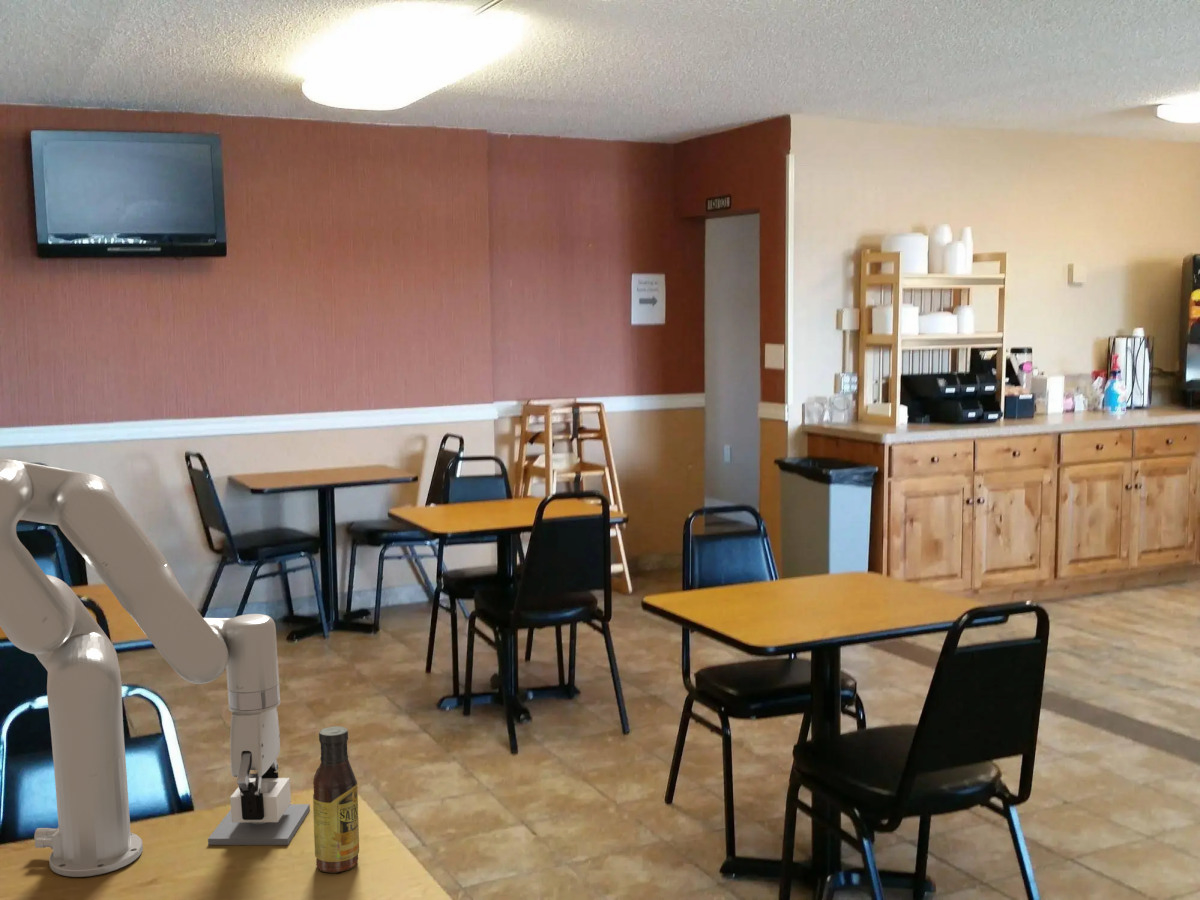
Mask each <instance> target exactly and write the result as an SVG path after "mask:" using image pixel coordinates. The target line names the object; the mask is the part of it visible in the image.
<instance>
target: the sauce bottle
mask: <svg viewBox="0 0 1200 900" xmlns="http://www.w3.org/2000/svg"><path fill="white" fill-rule="evenodd" d="M348 740H349V731H348V728H346V727H344V726H338V725H337V726H329V727H325V728H322V729H321V730H320V731H319V732H318V741H319V744H320V764H319V766H318V768H317V769H316V770H315V774H314V776H313V782H312V784H313V785H312V786H313V794H312V795H313V797H312V806H313V807H312V808H313V811H312V812H313V838H314V839H313V840H314V856H315V858H316V860H315V861H316V867H317V869H318V870H319V871H322V872H325V873H331V874H332V873H333V874H336V873H337V874H338V873H341V872H346V871H348V870H350V869H352V868H355V866H357V864H358V862H359V853H360V829H359V828H360V827H359V822H360V821H359V798H358V797H359V793H358V789H359V788H358V782H357V781H358V780H357V778H356V776H355V775H356V774H355V773H354V771H353V768H352V766H351V763H350V760H349V754H348Z"/></svg>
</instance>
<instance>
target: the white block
mask: <svg viewBox="0 0 1200 900" xmlns="http://www.w3.org/2000/svg"><path fill="white" fill-rule="evenodd" d="M249 780H250V781H249V782H254V781H255V780H256V778H249ZM261 780H264V781H267V789H268V793H263V804H264V818H263V819H262V820H243V818H242V807H241V796H240V789H239V786H238V787H237V788H236V789H235V791H234V792H233V793H232V794H231V795H230V798H229V799H230V801H229V802H230V810H231V817H232V822H278V821H279V820H280V818H281V817H282V815H283V814H284V812H285V811H286V809H287V808H288V806H289V805H290V804H292V795H291V781H290V780H291V778H290V777H278V778H261Z"/></svg>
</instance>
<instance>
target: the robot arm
mask: <svg viewBox="0 0 1200 900" xmlns="http://www.w3.org/2000/svg"><path fill="white" fill-rule="evenodd" d="M20 520H21V521H27V522H32V523H33V522H34V523H40V524H48V525H53V526H54V525H55V526H58V528H59V529H60V531H61V532H62V533H63V535H64V536H65V537H66V538H67V540H68V541H69V542H70V543H71V545H72V546H73V547H74V548H75V550H76V551H77V552H78V553H79V554H80V555H81V556H82V558H84V560H85V561H86V563H88V564H89V566H90V567H91V569H93V571H94V572H96V574H97V576H98V578H100V579H101V581H102V582H103V583H104V584H105V585H106V586H107V588H108V589H109V590H110V591H111V593H112V594H113V596H114V597H115V598H116V600H117V601H118V602H119V604H120V605H121V606H122V608H123V609H124V610H125V611H126V612H127V613H128V615H129V616H130V617H131V618H132V619H133V620H134V622H135V623H136V624H137V626H138V627H139V628H140V630H141V631H142V632H143V634H144V635H145V636H146V638H147V639H148V640H149V642H150V643H151V644H152V645H153V646H154V648H155V649H156V650H157V652H159V654H160V655H161V657H163V658H164V660H166V662H167V664H169V666H170V667H171V668H172V670H173V671H174V672H175V673H176V674H177V675H178V676H179V677H180V678H181V679H182V680H184V681H186V682H188V683H191V684H196V685H204V684H208V683H212V682H214V681H215V680H217V679H218V678H219V677H220V676H221V675H222V674H223V673H224V672H225V670H226V682H227V684H226V685H227V698H228V710H229V712H231V716H230V718H231V720H230V732H229V733H230V734H229V735H230V737H229V738H230V741H229V742H230V744H229V745H230V751H229V753H230V774H231V776H232V777H233V778H236V777H237V778H236V783H237V785H238V787H239V789H240V796H241V807H242V818H243V820H262V819H263V818H264V804H263V793H260V789H261V778H279V772H278V770H279V764H278V760H277V759H278V757H279V755H280V752H281V751H280V750H281V739H280V737H281V734H280V724H279V716H278V707H279V706H280V705H281V694H280V693H281V692H280V677H279V675H280V674H279V659H278V645H277V643H278V642H277V629H276V622H275V620H274V619H273V618H272V617H271V616H269V615H267V614H262V613H248V614H247V613H246V614H241V615H236V616H234V617H203V616H202V614H201V613H200V612H199V611H198V609H197V608H196V607H195V606H194V604H193V603H192V602H191V600H190V599H189V597H188V596H187V594H186V593H185V592H184V590H183V589H182V586H181V585H180V583H179V582H178V580H177V578H176V576H175V573H174V571H173V569H172V568H171V566H170V565H169V563H168V561H167V559H166V558H165V556H164V555H163V554H162V552H161V551H160V550H159V548H158V547H157V546H156V545H155V544H154V543H153V541H152V540H151V539H150V538H149V537H148V535H147V534H146V533H145V532H144V530H143V529H142V528H141V527H140V525H139V524H138V523H137V522H136V520H135V518H133V517H132V515H131V514H130V512H128V510H127V509H126V508H125V506H124V505H123V504H122V502H120V500H119V499H118V498H117V496H116V494H115V491H114V489H113V487H112V486H111V484H110V483H109V482H108V481H107V480H105V478H103V477H101V476H98V475H97V474H93V473H89V472H83V471H79V470H78V471H77V470H71V469H66V468H60V467H54V466H47V465H43V464H38V463H33V462H27V461H20V460H15V459H9V458H0V629H1V630H2V631H3V633H4V634H5V637H6V638H7V639H8V640H9V642H11V643H12V644H13V645H14V647H16V648H17V649H19V650H21V651H23V652H25V653H28V654H32V655H34V656H35V657H36V658H37V659H38V661H39V663H40V664H41V665H42V666H43V667H44V669H45V670H46V671H47V682H46V683H47V684H46V692H47V693H46V695H47V706H48V714H49V715H48V716H49V724H50V725H49V726H50V737H51V747H52V748H51V749H52V762H53V769H54V770H53V772H54V784H55V795H56V797H55V798H56V811H57V824H58V826H57V828H51V827H37V828H36V829H35V832H34V847H35V848H37V849H38V848H39V849H40V848H43V849H44V848H50V849H51V850H52V852H51V854H50V855H49V858H48V861H49V868H50V869H51V870H52V871H53V872H54V873H56V874H58V875H59V876H60V875H61V876H65V877H72V878H83V877H84V878H85V877H93V876H99V875H103V874H107V873H111V872H113V871H117V870H120V869H122V868H123V867H124V868H125V867H126V866H127V865H130V864H131V863H133V862H134V861H135V860H137V859H139V857H140V856H141V854H142V853H143V849H144V846H143V845H144V844H143V840H142V838H141V837H140V836H139V835H137V834H136V833H133V832H132V831H131V819H130V806H129V805H130V804H129V790H128V775H127V773H128V772H127V759H126V749H125V748H126V747H125V732H124V731H125V730H124V721H123V720H124V717H123V715H124V714H123V690H122V689H123V688H122V687H123V686H122V677H121V670H120V669H121V668H120V664H119V658H118V657H119V656H118V653H117V651H116V649H115V646H114V645H113V644H114V643H113V642H112V641H111V640H110V639H109V637H108V636H107V634H106V632H104V630H103V629H102V627H101V626H100V624H98V622H97V621H96V620H95V618H94V617H93V615H92V614H91V613H90V612H89V610H88V609H87V607H86V606H85V605H84V603H83V602H82V601H81V599H80V598H79V597H78V596H77V594H76V592H75V591H74V590H73V589H72V588H71V587H70V586H69V585H68V584H67V583H66V582H65V581H63V580H62V579H60V578H58V577H56V576H53V575H51V574H46V573H45V572H44V571H43V570H42V568H41V567H40V566H39V564H38V563H37V561H36V560H35V559H34V557H33V555H32V554H31V553H30V551H29V550H28V549H27V548H26V546H25V545H24V544H23V543H22V542H21V541H20V539H19V537H18V534H17V525H18V523H19V521H20ZM251 771H257V772H256V773H250V772H251ZM249 778H256V780H255V786H254V784H253V783H252V782H249V781H250V780H249Z"/></svg>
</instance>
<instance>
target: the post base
mask: <svg viewBox="0 0 1200 900" xmlns="http://www.w3.org/2000/svg"><path fill="white" fill-rule="evenodd" d="M252 783H253V784H254V786H255V781H254V782H252ZM260 793H268V789H267V781H264V780H261V789H260ZM310 806H311V805H310V803H307V804H305V803H303V804H302V803H297V804H295V803H290V805H289V806H288V808H287V809H286V811H285V812H284V814H283V815H282V817H281V818H280V820H279V821H278V822H232V817H231V809H230V810H229V811H228V812H227V814H226V815H225V816H224V817H223V819H222V820H221V821H220V823H219V824H218V825H217V826H216V828H215V829H214V830H213V831H212V833H211V834H210V835H209V836H208V838H207V845H208V846H289V844H290V843H291V841H292V840H293V838H294V836H295V834H296V833H297V831H298V830H299V829H300V827H301V825H302V824H303V822H304V820H305V819H306V817H307V816H308V814H309V812H310V811H311V808H310Z"/></svg>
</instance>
